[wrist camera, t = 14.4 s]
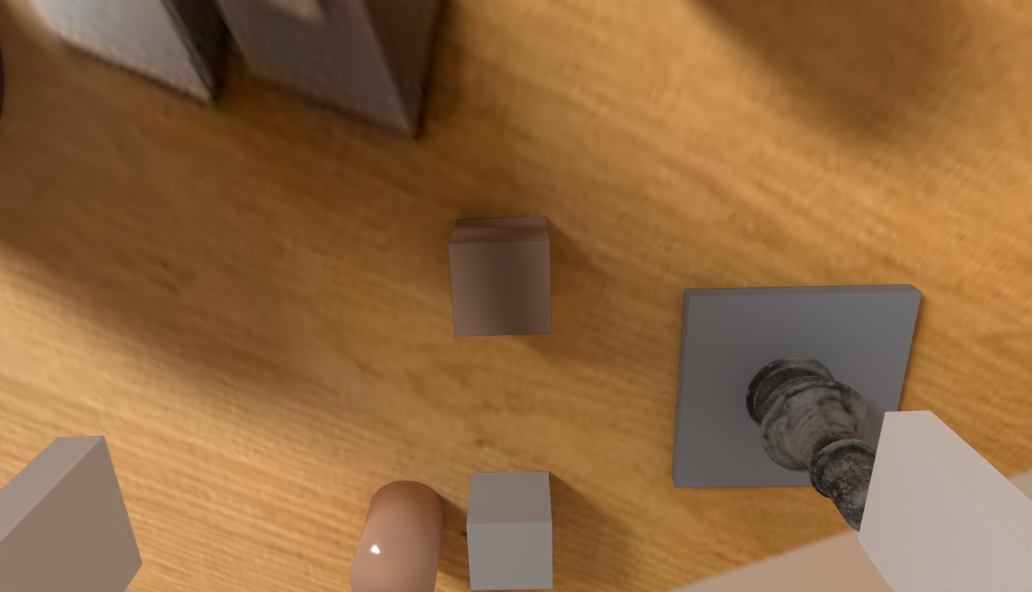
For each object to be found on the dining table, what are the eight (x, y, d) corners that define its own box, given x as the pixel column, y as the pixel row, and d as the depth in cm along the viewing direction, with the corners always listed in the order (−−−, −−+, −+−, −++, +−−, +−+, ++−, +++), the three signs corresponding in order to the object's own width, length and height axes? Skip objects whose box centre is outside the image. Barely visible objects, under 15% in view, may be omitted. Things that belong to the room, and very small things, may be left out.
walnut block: (462, 301, 39) (454, 336, 34) (456, 218, 37) (447, 243, 33) (547, 298, 39) (551, 333, 34) (545, 215, 37) (549, 240, 33)
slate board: (671, 476, 43) (675, 487, 42) (684, 289, 39) (689, 296, 37) (872, 472, 43) (882, 484, 42) (910, 284, 38) (922, 291, 37)
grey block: (475, 533, 45) (470, 590, 40) (472, 472, 43) (466, 523, 39) (549, 532, 45) (552, 589, 40) (548, 470, 43) (551, 522, 39)
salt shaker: (763, 341, 38) (863, 464, 27) (857, 364, 39) (992, 495, 28) (726, 425, 40) (804, 572, 29) (815, 447, 41) (926, 599, 30)
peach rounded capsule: (366, 536, 45) (346, 606, 40) (373, 475, 43) (353, 540, 38) (439, 545, 45) (429, 617, 40) (449, 486, 44) (440, 552, 38)
